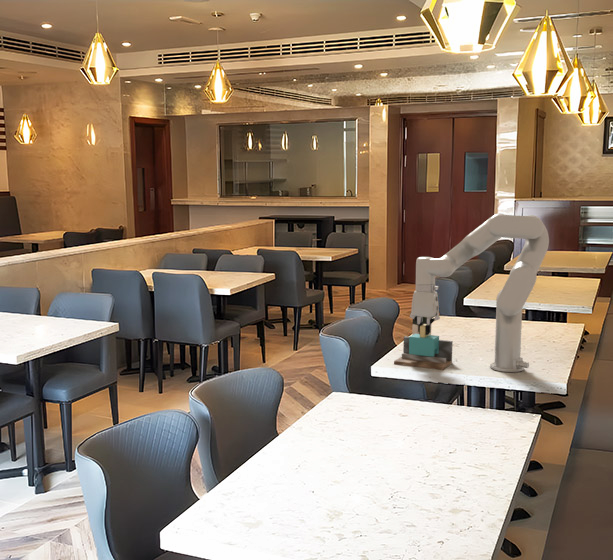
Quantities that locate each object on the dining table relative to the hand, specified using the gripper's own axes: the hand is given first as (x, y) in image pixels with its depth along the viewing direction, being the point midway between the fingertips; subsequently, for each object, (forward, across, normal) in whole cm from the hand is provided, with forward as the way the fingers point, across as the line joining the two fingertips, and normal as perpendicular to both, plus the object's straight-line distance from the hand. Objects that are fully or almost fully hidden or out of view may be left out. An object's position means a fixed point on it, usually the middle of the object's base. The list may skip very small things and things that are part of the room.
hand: (424, 333), depth 280 cm
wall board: (+12, 0, +1) cm, 12 cm away
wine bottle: (+12, +7, -18) cm, 23 cm away
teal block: (+8, 0, 0) cm, 8 cm away
